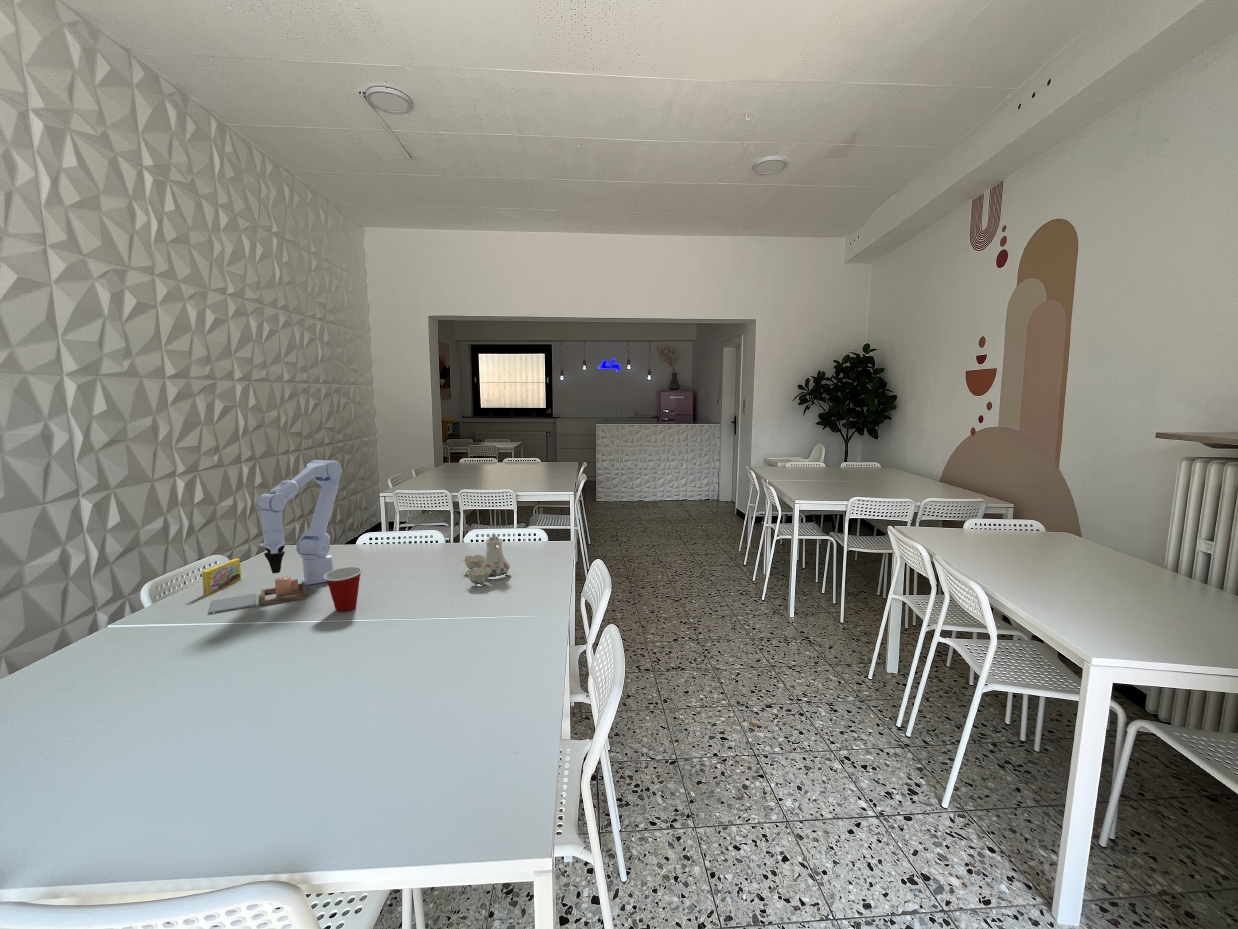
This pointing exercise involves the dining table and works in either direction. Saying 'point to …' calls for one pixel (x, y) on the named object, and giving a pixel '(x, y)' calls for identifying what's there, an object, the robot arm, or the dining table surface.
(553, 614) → the dining table surface
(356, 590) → the plastic cup
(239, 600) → the grey mat
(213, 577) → the candy box
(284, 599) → the frame
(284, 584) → the peach rounded block
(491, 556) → the chinaware
